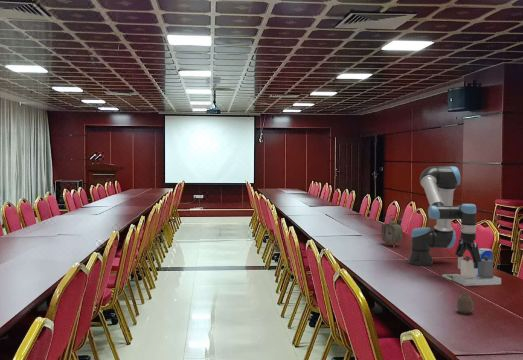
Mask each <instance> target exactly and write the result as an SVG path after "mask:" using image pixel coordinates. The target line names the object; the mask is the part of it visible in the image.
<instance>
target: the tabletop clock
mask: <svg viewBox="0 0 523 360" xmlns="http://www.w3.org/2000/svg"><path fill="white" fill-rule="evenodd" d="M391 216H392V217H394V218H391ZM388 218H389V221H388V223H383V224H382V227H381V239H382V241H383V242H385V243H384V244H383V245H384V246H387V244H393V245H392V248H394V249H395V247H396V243H400V242H402V239H403V227H402V226H401V225H400V224H398V223H396V221H395V220H396V216H395V215H394V214H390V215H389V217H388Z"/></svg>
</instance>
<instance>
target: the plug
mask: <svg viewBox="0 0 523 360" xmlns="http://www.w3.org/2000/svg"><path fill="white" fill-rule="evenodd" d="M470 256H471V255H470ZM470 256H469V255H466V256H465V259H463V260H461V269H460V274H461V277H463V278H465V279H466V278H474V274H472V262H473V259H472V260H471V259H470Z"/></svg>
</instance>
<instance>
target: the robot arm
mask: <svg viewBox="0 0 523 360" xmlns="http://www.w3.org/2000/svg"><path fill="white" fill-rule="evenodd" d="M419 176H420V177H419V182H420V185H421V187H422V188H423V189H424V192H425V195H426V198H427V202H428V204H429V206H428V208H427V209H428V210H427V213H428V218H429V219H431V220H436V224H435V225H434V227H433V229H431V227H428V226H427V227H425V226H423V227H415V228H413V229H412V230H411V236H410V237H411V252H410V254H409V256H408V264H410V265H414V266H420V267H422V266H423V267H424V266H432V265H433V264H434V261H433V257H432V255H431V248H432V249H450V248H453V246H455V243H456V240H457V239H456V238H457V237H456V235H457V233H456V231H455V230H454V228H453V226H452V220H460V231H461V232H460V239H458V244H457V247H456V251H455V253H454V254H455V255H456V257H457V269H460V270H461V260H464V254H465V252H467V251H468V252H469V253H470V256H471V259H472V261H473V262H472V274H478V262H481V258H480V254H479V244H478V243H477V242H474V241H475V240H476V238H477V234H476V232H477V231H476V230H477V206H476V204H474V203H463V204H462V203H461V205H453V200H454V193H455V192H454V191H455V190H456V189H457V187H458V186H460V184H461V180H462V179H461V178H462V177H461V174H460V170H459V168H458V167H457V166H453V165H451V166H450V165H445V166H443V165H442V166H441V165H440V166H438V165H437V166H429V167H426V168H425V169H424V170H423V171H422V172H421V174H420V175H419Z"/></svg>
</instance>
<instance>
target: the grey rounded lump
mask: <svg viewBox="0 0 523 360" xmlns="http://www.w3.org/2000/svg"><path fill="white" fill-rule="evenodd" d="M456 309H457V311H458V312H459V313H461V314H465V315H466V314H471V313H472V311H473V309H474V301H473V299H472V298H471V296H470V294H469V292H466V291H463V292H461V294H460V295H459V296H458V298H457V299H456Z"/></svg>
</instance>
